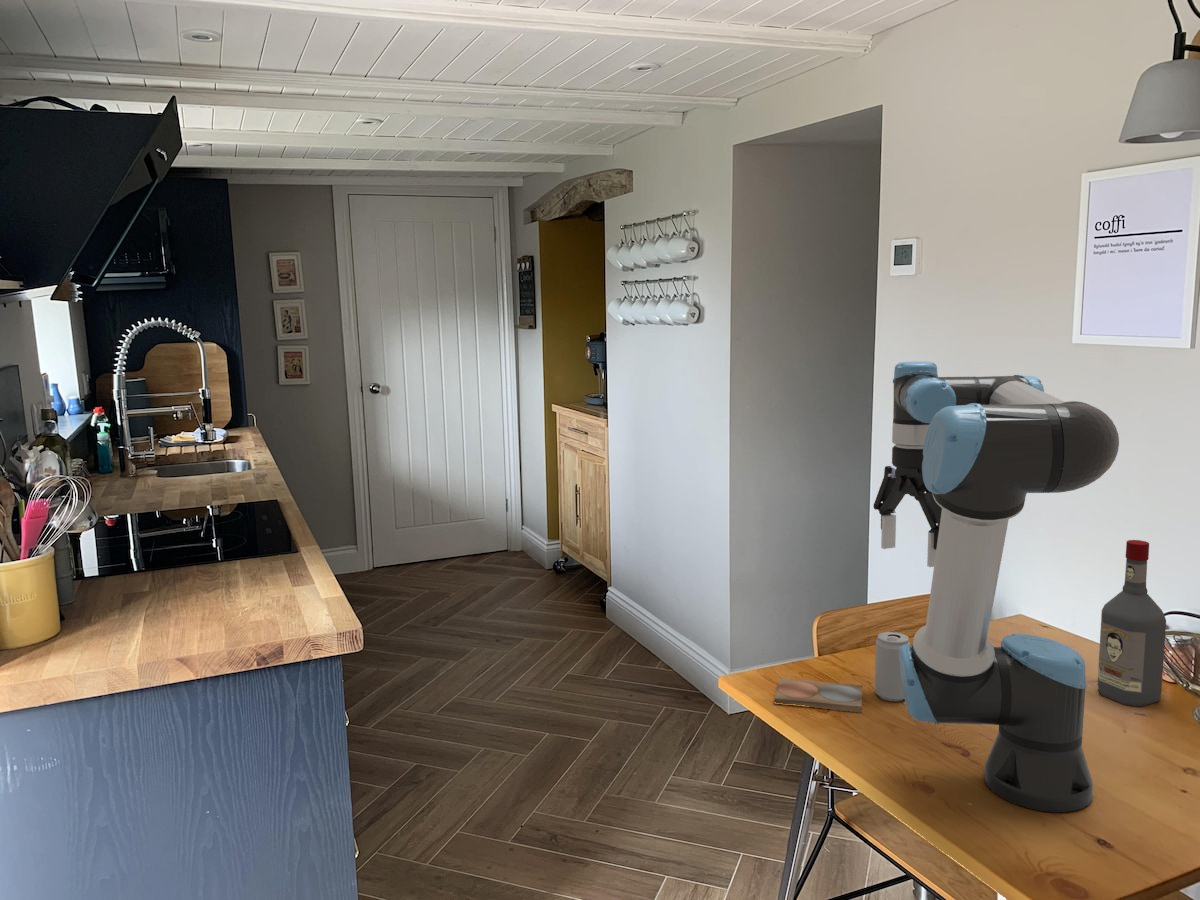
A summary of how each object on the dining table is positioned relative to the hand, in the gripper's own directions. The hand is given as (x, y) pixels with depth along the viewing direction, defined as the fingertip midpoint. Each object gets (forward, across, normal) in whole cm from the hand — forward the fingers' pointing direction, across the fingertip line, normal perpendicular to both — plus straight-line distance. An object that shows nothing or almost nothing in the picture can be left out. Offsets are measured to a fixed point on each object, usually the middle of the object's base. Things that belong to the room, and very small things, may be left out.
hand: (910, 556), depth 172 cm
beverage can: (+28, +1, +3) cm, 28 cm away
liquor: (+28, -16, -38) cm, 50 cm away
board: (+28, +5, +16) cm, 32 cm away
